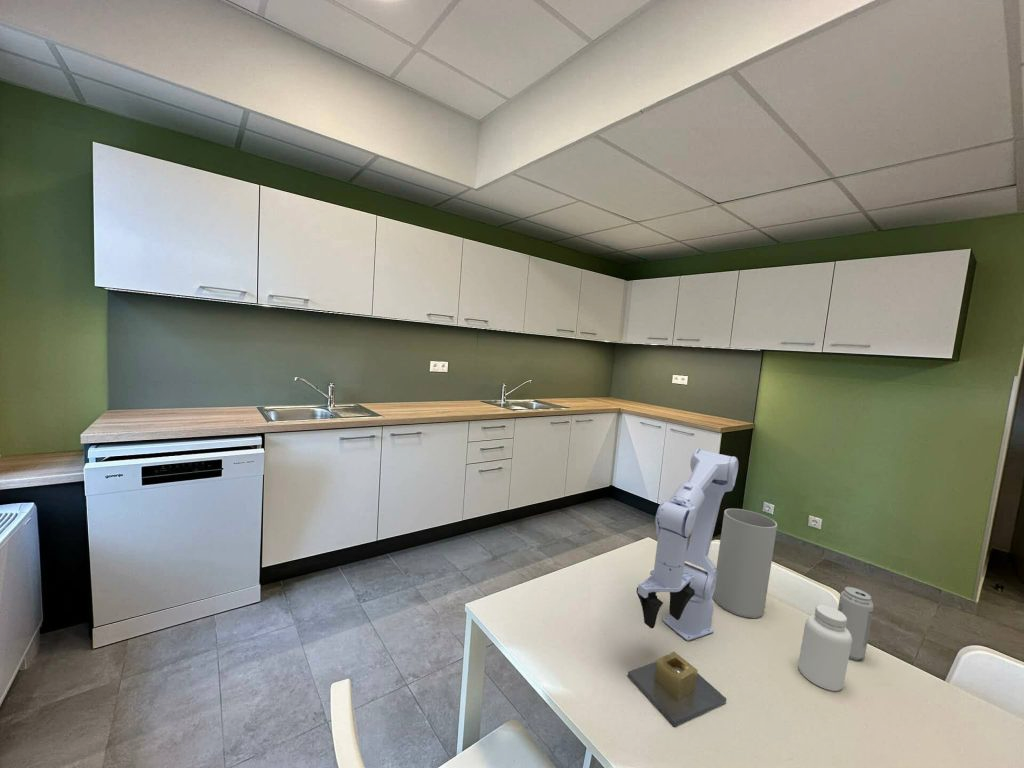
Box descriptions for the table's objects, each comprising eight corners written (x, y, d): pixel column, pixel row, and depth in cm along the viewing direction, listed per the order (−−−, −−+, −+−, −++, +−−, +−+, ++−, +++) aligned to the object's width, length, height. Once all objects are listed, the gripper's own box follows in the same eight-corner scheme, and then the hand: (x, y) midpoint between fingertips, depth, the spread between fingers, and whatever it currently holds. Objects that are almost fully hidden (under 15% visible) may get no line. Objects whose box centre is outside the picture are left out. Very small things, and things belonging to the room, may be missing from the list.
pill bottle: (832, 697, 82) (843, 628, 81) (790, 668, 89) (800, 604, 88) (851, 685, 86) (862, 619, 85) (809, 659, 93) (819, 597, 92)
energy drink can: (830, 639, 101) (840, 582, 99) (862, 651, 97) (872, 592, 96) (832, 653, 96) (842, 592, 94) (866, 666, 92) (876, 604, 91)
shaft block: (676, 658, 89) (678, 641, 89) (725, 703, 78) (728, 684, 78) (627, 676, 83) (629, 657, 82) (674, 727, 72) (677, 706, 72)
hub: (671, 669, 84) (674, 651, 84) (695, 689, 80) (697, 670, 79) (654, 678, 81) (657, 659, 81) (677, 699, 77) (680, 679, 77)
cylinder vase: (707, 603, 111) (719, 515, 109) (718, 585, 121) (730, 505, 119) (759, 626, 103) (773, 532, 101) (767, 605, 113) (780, 519, 111)
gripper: (678, 546, 92) (670, 602, 93) (630, 556, 85) (623, 616, 86) (705, 562, 85) (697, 622, 87) (656, 574, 79) (647, 639, 80)
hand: (661, 621), depth 86 cm, fingers open, 7 cm apart
